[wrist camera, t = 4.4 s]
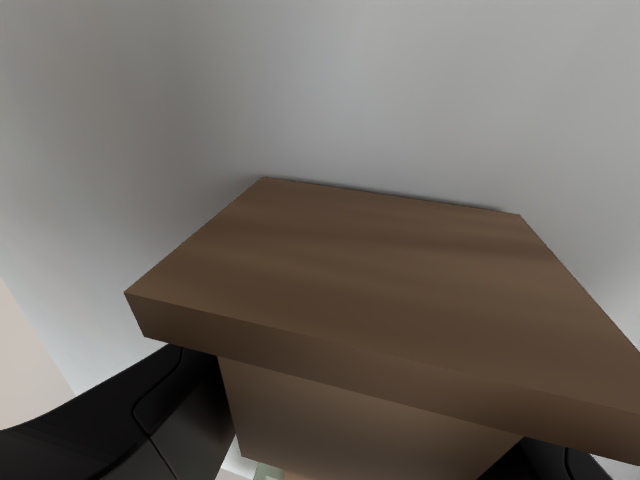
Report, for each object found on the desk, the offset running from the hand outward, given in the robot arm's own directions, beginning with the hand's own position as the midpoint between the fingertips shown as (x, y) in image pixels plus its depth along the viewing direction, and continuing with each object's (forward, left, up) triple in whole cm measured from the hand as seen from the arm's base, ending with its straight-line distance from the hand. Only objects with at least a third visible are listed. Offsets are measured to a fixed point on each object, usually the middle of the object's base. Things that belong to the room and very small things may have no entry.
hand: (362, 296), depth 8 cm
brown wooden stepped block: (0, +6, -1) cm, 7 cm away
